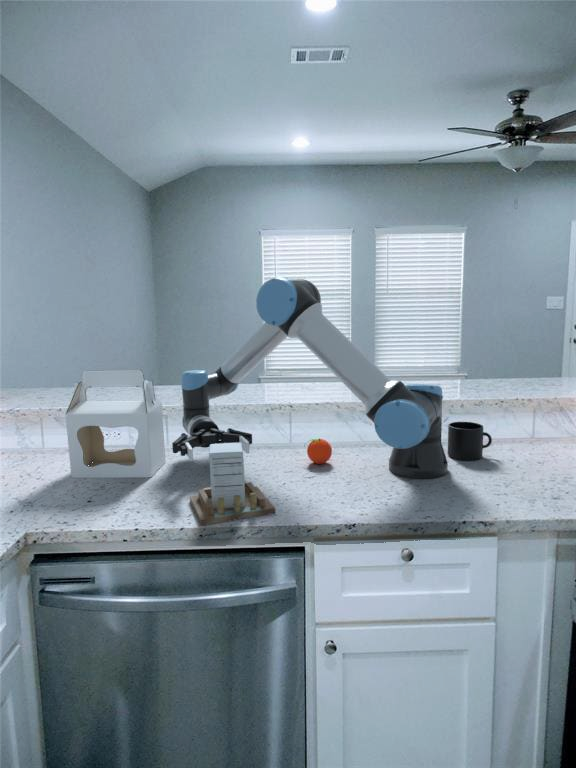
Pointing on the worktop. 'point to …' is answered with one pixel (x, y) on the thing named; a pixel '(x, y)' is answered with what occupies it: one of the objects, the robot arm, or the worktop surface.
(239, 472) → the supplement box
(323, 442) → the clementine
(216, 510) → the brown shallow tray
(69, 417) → the gable box
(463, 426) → the mug
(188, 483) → the worktop surface
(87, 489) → the worktop surface
